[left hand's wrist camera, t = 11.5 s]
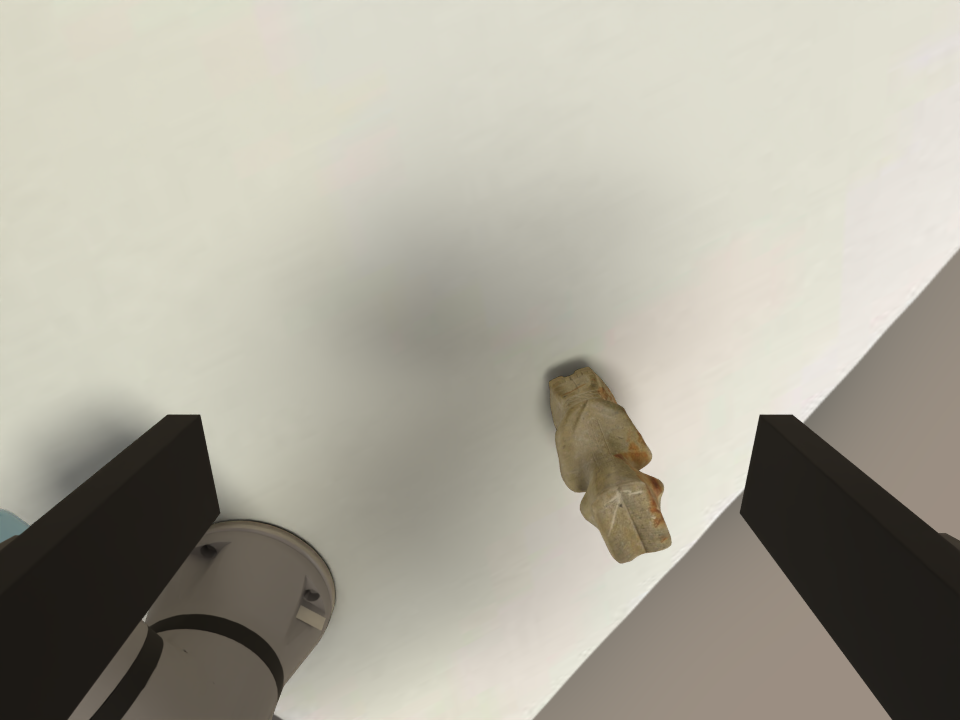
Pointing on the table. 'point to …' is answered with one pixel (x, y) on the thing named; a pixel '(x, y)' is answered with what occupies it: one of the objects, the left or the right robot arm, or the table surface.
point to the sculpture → (607, 466)
